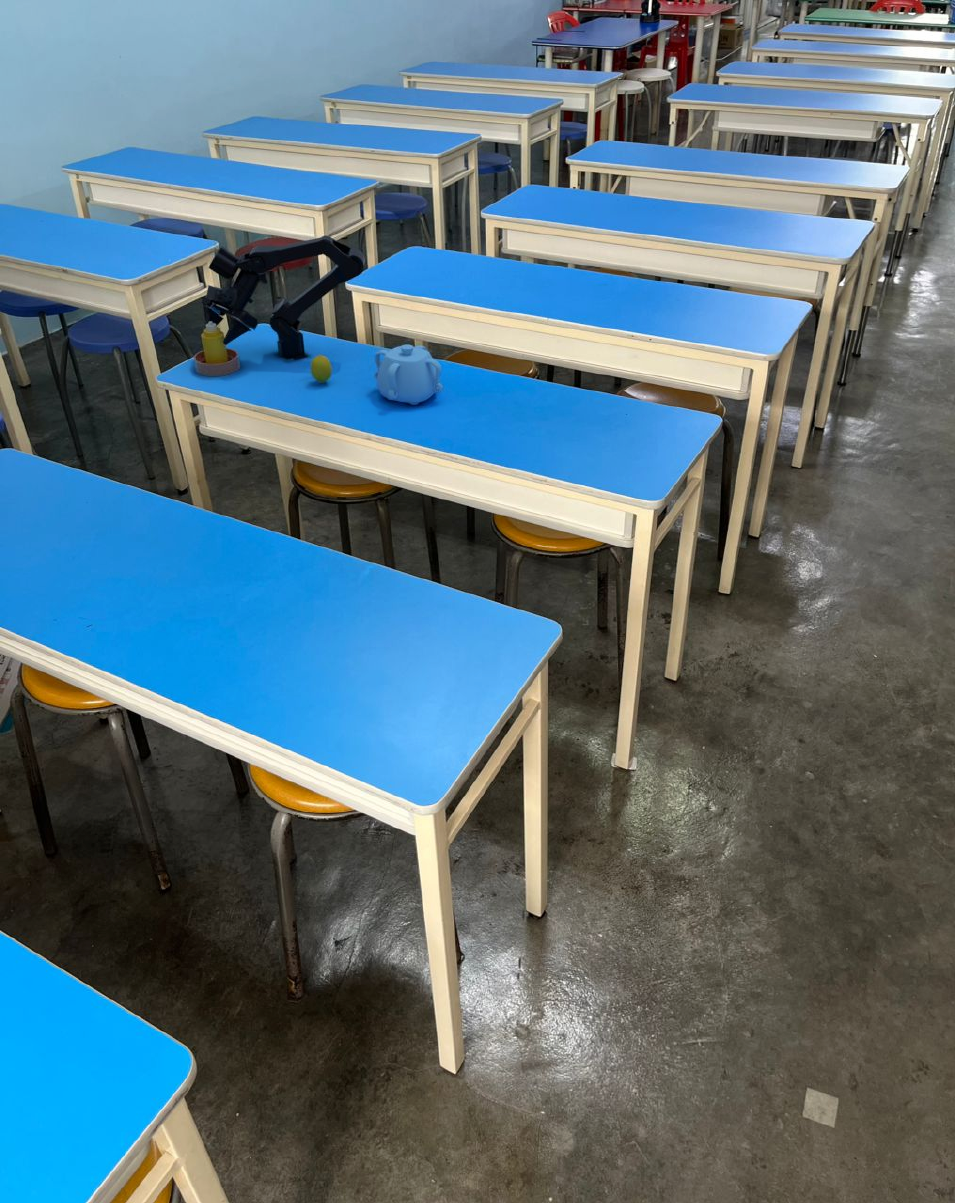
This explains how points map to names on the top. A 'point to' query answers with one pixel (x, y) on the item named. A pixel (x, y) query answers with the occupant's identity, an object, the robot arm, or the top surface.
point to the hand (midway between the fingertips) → (214, 339)
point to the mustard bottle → (214, 344)
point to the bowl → (219, 368)
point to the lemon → (321, 368)
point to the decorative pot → (407, 374)
